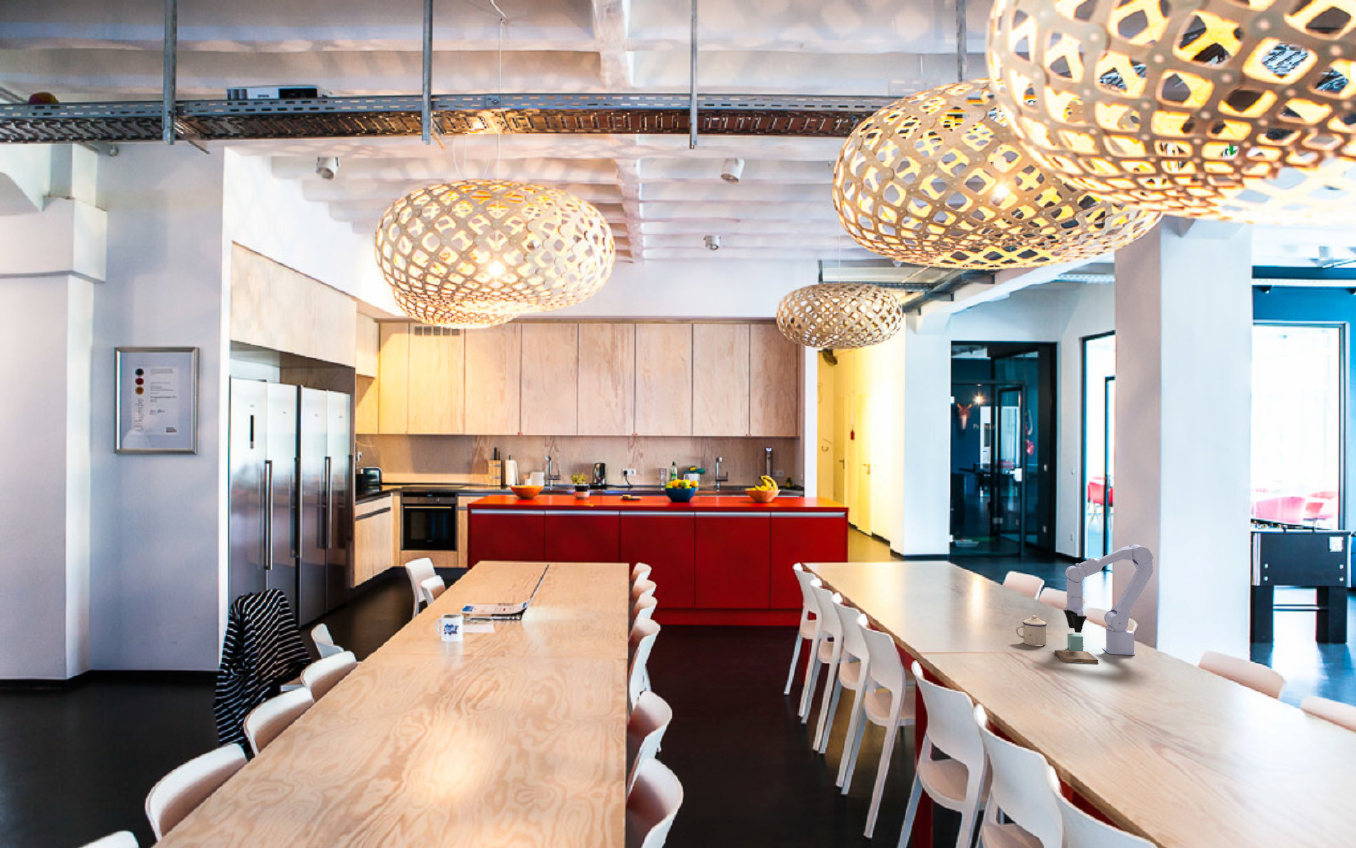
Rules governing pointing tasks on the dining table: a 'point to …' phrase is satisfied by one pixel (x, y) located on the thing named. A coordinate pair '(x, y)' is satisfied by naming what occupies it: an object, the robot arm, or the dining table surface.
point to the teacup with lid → (1033, 631)
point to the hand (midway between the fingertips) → (1074, 630)
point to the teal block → (1075, 642)
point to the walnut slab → (1076, 656)
